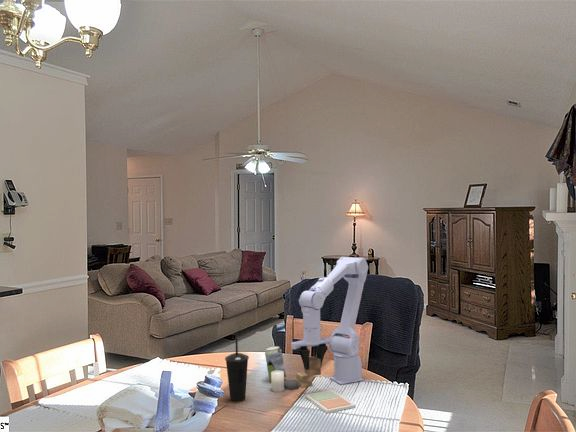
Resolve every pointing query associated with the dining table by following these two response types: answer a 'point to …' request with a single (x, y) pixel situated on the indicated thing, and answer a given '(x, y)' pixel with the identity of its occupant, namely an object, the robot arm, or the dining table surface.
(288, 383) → the rubber puck
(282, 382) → the ceramic cylinder
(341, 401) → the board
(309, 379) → the oak cube
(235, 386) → the drinking cup
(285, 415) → the dining table surface
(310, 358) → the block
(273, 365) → the beverage can
